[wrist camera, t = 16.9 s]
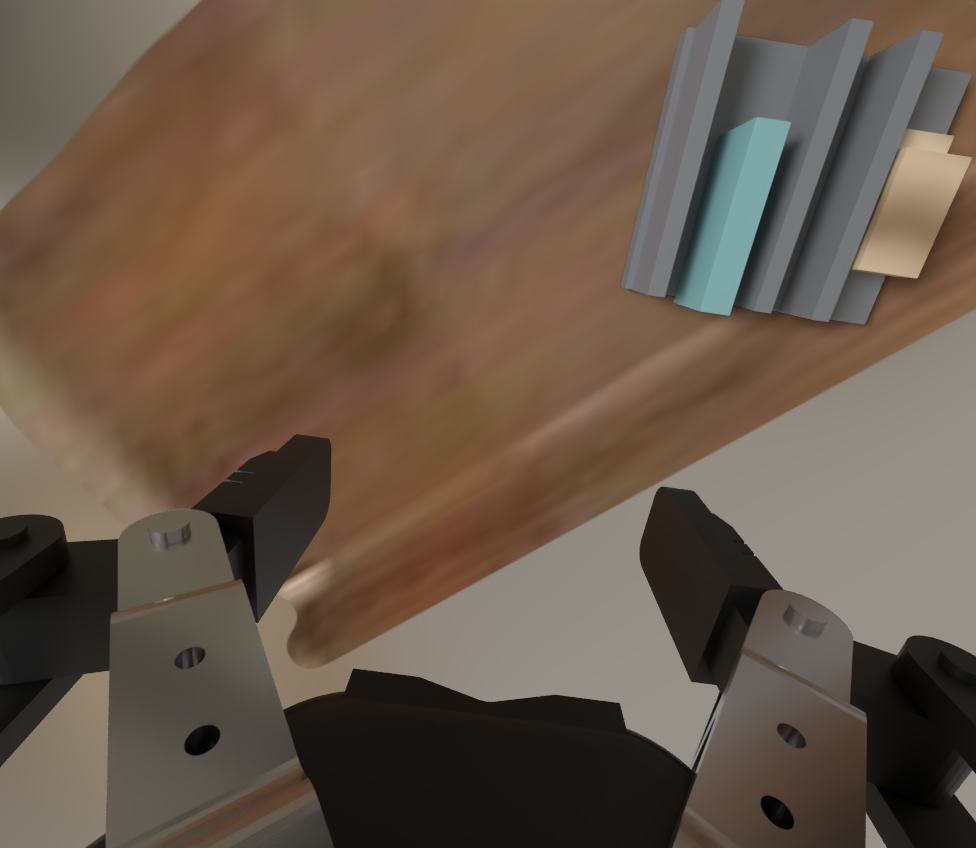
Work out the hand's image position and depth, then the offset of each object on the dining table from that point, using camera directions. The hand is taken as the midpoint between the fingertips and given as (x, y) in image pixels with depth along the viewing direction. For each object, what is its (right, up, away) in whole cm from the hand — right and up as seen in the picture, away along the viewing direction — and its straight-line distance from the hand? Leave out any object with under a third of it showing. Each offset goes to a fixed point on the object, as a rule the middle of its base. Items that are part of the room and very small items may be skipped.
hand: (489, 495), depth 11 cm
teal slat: (+16, +20, +18) cm, 31 cm away
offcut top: (+27, +15, +20) cm, 36 cm away
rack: (+21, +19, +22) cm, 36 cm away
